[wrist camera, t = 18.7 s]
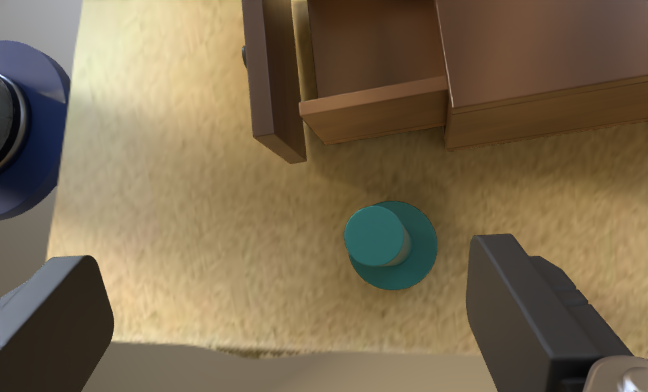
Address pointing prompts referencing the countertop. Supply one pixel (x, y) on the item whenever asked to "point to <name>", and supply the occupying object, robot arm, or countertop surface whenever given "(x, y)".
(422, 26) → the drawer
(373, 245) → the teal flanged rod post
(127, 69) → the countertop surface
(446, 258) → the countertop surface
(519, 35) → the cabinet
